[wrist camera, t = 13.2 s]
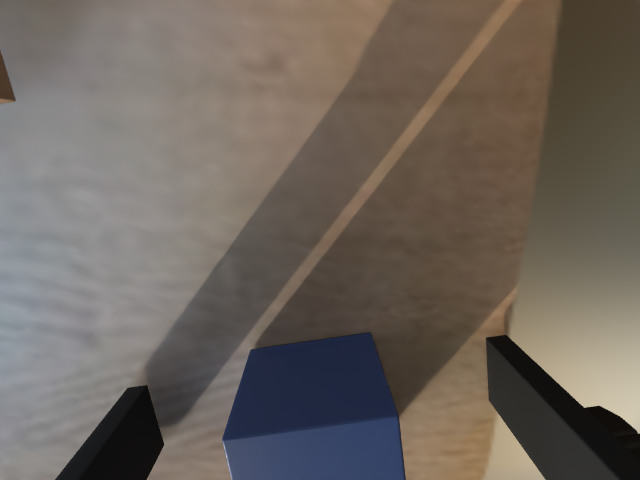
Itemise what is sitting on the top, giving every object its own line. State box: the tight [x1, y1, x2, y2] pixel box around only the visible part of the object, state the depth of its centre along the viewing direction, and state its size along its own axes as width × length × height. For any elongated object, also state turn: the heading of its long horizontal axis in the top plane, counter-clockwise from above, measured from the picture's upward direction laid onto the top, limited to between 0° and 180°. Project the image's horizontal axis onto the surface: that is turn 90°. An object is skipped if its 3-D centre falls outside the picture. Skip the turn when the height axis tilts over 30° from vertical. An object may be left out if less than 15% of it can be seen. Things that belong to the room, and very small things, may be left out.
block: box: [222, 333, 406, 480], centre depth 12 cm, size 5×5×5 cm
